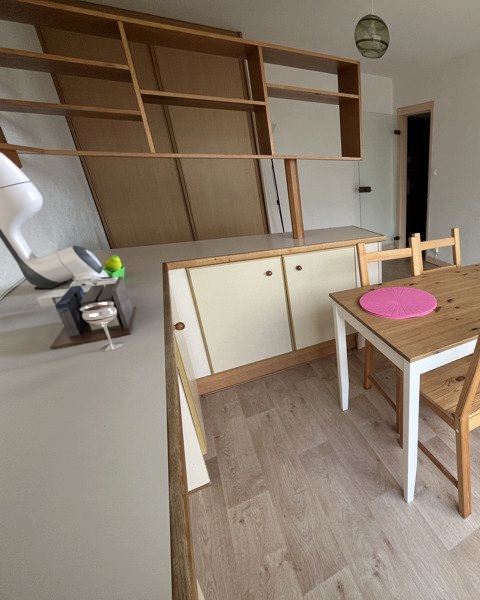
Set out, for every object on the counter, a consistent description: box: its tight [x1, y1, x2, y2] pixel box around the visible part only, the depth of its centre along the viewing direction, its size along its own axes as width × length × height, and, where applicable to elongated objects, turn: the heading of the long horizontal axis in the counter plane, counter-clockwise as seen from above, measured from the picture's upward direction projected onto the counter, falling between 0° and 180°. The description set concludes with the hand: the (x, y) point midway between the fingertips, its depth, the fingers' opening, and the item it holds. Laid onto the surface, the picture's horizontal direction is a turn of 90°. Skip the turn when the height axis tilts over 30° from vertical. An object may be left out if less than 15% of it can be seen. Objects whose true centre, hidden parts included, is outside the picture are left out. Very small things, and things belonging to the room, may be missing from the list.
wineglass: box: [80, 301, 125, 352], centre depth 83 cm, size 7×7×12 cm
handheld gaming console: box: [33, 278, 74, 290], centre depth 129 cm, size 12×7×10 cm
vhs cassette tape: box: [54, 285, 87, 337], centre depth 93 cm, size 18×3×10 cm, turn 33°
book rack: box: [50, 276, 138, 351], centre depth 94 cm, size 16×22×13 cm
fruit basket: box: [103, 254, 126, 279], centre depth 134 cm, size 11×9×11 cm
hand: (79, 301), depth 97 cm, fingers open, 4 cm apart
